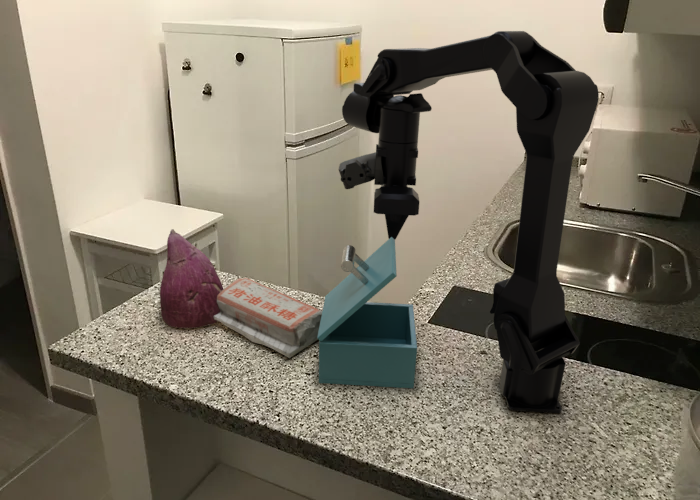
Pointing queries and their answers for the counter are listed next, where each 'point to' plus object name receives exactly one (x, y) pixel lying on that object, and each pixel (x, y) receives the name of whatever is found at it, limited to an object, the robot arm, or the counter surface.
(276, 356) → the counter surface
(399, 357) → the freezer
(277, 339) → the packaged product
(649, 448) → the counter surface
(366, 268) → the freezer lid
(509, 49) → the robot arm
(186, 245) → the vegetable
